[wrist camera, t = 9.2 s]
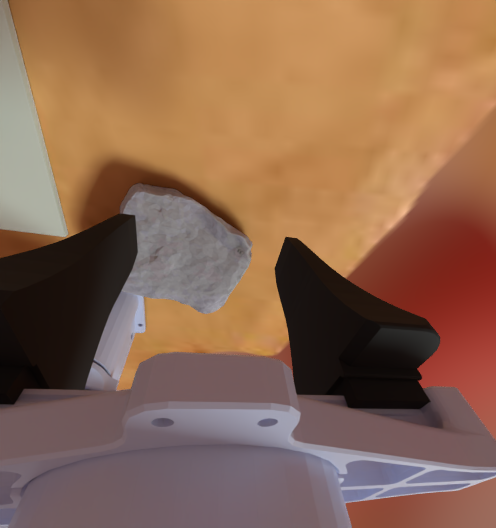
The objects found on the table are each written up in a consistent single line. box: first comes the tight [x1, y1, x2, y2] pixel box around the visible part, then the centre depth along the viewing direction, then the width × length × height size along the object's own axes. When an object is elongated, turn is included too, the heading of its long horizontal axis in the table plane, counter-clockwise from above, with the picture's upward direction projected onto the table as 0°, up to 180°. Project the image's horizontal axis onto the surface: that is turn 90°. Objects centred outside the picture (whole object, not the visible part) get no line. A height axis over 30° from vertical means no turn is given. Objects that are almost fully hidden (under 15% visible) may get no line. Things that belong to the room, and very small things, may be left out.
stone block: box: [120, 183, 252, 314], centre depth 22 cm, size 12×5×10 cm
